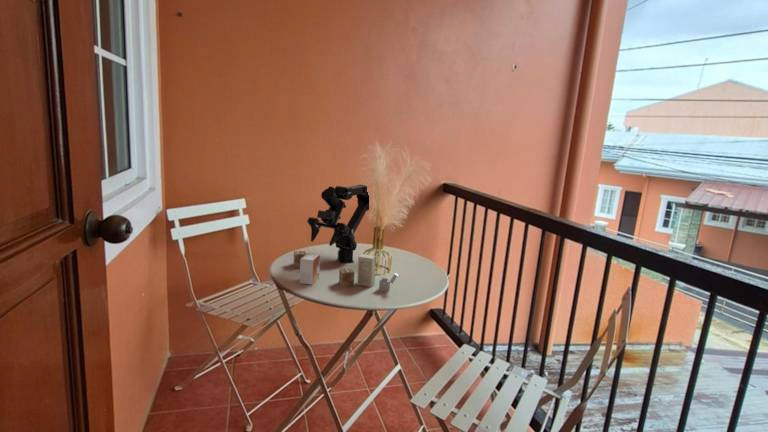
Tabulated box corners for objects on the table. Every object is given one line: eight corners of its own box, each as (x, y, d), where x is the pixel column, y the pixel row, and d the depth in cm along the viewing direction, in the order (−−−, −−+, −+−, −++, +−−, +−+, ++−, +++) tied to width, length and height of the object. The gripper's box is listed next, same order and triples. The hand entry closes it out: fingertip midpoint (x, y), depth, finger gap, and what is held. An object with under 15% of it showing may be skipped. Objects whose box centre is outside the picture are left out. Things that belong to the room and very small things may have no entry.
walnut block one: (350, 281, 164) (351, 267, 163) (353, 286, 160) (354, 272, 158) (338, 282, 163) (339, 268, 161) (341, 287, 158) (342, 272, 157)
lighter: (378, 290, 158) (380, 271, 156) (379, 288, 159) (381, 270, 157) (396, 293, 156) (397, 274, 154) (397, 291, 158) (398, 272, 156)
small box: (312, 285, 158) (313, 260, 155) (299, 283, 159) (299, 258, 157) (319, 278, 166) (320, 254, 163) (307, 276, 167) (307, 252, 164)
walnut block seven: (304, 263, 181) (305, 250, 180) (306, 267, 177) (306, 254, 175) (293, 263, 180) (293, 250, 178) (294, 267, 175) (295, 254, 174)
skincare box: (374, 283, 164) (376, 255, 161) (371, 287, 160) (373, 259, 157) (360, 280, 166) (362, 253, 163) (356, 284, 162) (358, 256, 159)
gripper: (308, 199, 169) (293, 231, 164) (346, 205, 162) (331, 239, 156) (319, 211, 179) (305, 242, 173) (355, 218, 171) (342, 250, 165)
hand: (320, 243), depth 166 cm, fingers open, 9 cm apart
